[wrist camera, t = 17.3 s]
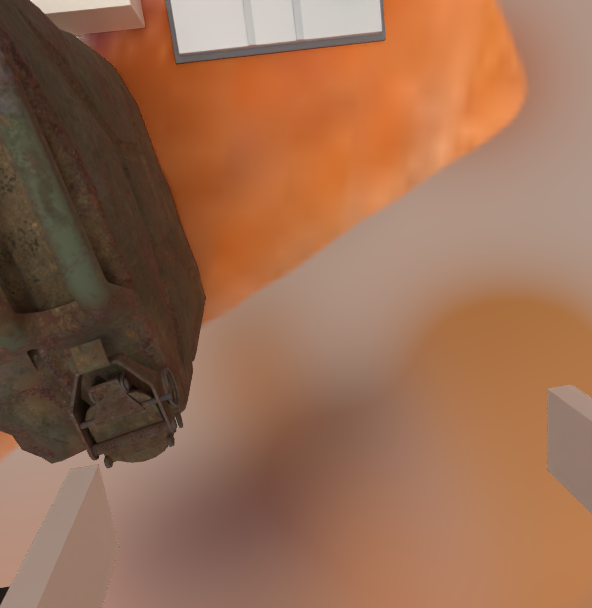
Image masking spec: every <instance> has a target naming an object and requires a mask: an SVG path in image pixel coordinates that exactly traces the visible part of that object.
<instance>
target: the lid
mask: <svg viewBox="0 0 592 608" xmlns="http://www.w3.org/2000/svg"><path fill="white" fill-rule="evenodd" d="M170 1H171V7H172V13H173V19H174V25H175V31H176V37H177V43H178V49H179V54H180V56H183V55H192V54H201V53H210V52H219V51H228V50H237V49H246V48H255V47H264V46H273V45H282V44H291V43H300V42H309V41H318V40H326V39H335V38H344V37H353V36H362V35H371V34H379V33H380V32H382V23H381V9H380V0H170Z"/></svg>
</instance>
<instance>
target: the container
mask: <svg viewBox="0 0 592 608" xmlns="http://www.w3.org/2000/svg"><path fill="white" fill-rule="evenodd" d="M205 299H206V297H205V294H204V291H203V287H202V284H201V280H200V276H199V271H198V267H197V264H196V262H195V259H194V256H193V254H192V251H191V249H190V246H189V244H188V241H187V239H186V236H185V234H184V231H183V229H182V226H181V223H180V220H179V217H178V213H177V210H176V207H175V204H174V201H173V197H172V194H171V191H170V188H169V185H168V183H167V181H166V179H165V177H164V175H163V173H162V171H161V168H160V166H159V164H158V161H157V158H156V155H155V152H154V150H153V147H152V144H151V141H150V138H149V136H148V133H147V130H146V127H145V125H144V122H143V119H142V116H141V114H140V111H139V108H138V105H137V103H136V102H135V100H134V98H133V97H132V95H131V93H130V92H129V90H128V88H127V86H126V85H125V83H124V81H123V80H122V78H121V77H120V75H119V74H118V72H117V71H116V69H115V68H114V67H113V65H112V64H111V63H109V62H108V61H107V60H105V59H104V58H103V57H101V56H100V55H99V54H97V53H96V52H95V51H94V50H92V49H91V48H90V47H88V46H87V45H86V44H84V43H83V42H82V41H80V40H79V39H78V38H76V37H75V36H74V35H73V34H71V33H69V32H66V31H63V30H61V29H59V28H58V27H57V26H56V25H55V24H54V23H53V22H52V21H51V20H50V19H49V18H48V17H47V16H46V15H45V14H44V13H43V12H42V11H41V9H40V8H39V7H37V6H36V5H35V4H34V3H32V2H31V1H30V0H0V431H2V432H5V433H8V434H10V435H12V436H13V437H14V438H15V440H16V441H17V443H18V444H19V446H20V447H21V449H22V450H24V451H27V452H29V453H32V454H34V455H37V456H39V457H42V458H44V459H45V460H47V461H48V462H50V463H55V462H59V461H63V460H65V459H67V458H69V457H72V456H74V455H76V454H78V453H80V452H82V451H84V450H86V449H87V452H88V454H89V456H90V457H91V459H92V460H97V459H98V458H99V455H101V454H104V455H105V459H104V463H105V466H106V467H107V468H110V467H112V465H113V462H116V461H124V462H142V461H146V460H149V459H152V458H154V457H156V456H158V455H159V454H161V453H162V452H163V451H165V449H166V448H167V447H168V445H169V446H170V447H171V446H174V437H173V435H174V433H175V432H176V428H177V424H176V420H177V422H178V425H179V427H180V428H182V427H183V423H182V418H181V415H180V413H181V412H182V411H184V410H185V408H186V404H187V401H188V396H189V390H190V384H191V379H192V373H193V366H192V362H193V361H194V359H195V355H196V351H197V345H198V339H199V334H200V328H201V322H202V317H203V311H204V305H205ZM175 417H176V420H175Z"/></svg>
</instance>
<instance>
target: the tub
mask: <svg viewBox="0 0 592 608" xmlns="http://www.w3.org/2000/svg"><path fill="white" fill-rule="evenodd" d="M30 1H31V2H32V3H34V4H35V5H36V6H37V7H39V8H40V9H41V11H42V12H43V13H44V14H45V15H46V16H47V17H48V18H49V19H50V20H51V21H52V22H53V23H54V24H55V25H56V26H57V27H58V28H59V29H61V30H63V31H66V32H69V33H71V34H73V35H82V34H92V33H101V32H110V31H120V30H129V29H138V28H146V27H145V22H144V16H143V11H142V5H141V0H30Z"/></svg>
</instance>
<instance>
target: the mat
mask: <svg viewBox="0 0 592 608" xmlns="http://www.w3.org/2000/svg"><path fill="white" fill-rule="evenodd" d="M165 1H166V7H167V13H168V19H169V25H170V31H171V37H172V43H173V48H174V54H175V60H176V64H181V63H190V62H199V61H208V60H216V59H225V58H234V57H243V56H252V55H261V54H270V53H278V52H287V51H296V50H305V49H314V48H323V47H332V46H340V45H349V44H358V43H367V42H376V41H384V40H386V39H385V25H384V11H383V0H380V9H381V23H382V32H380V33H379V34H371V35H362V36H353V37H344V38H335V39H326V40H318V41H309V42H300V43H291V44H282V45H273V46H264V47H255V48H246V49H237V50H228V51H219V52H210V53H201V54H192V55H183V56H180V54H179V49H178V43H177V37H176V31H175V25H174V19H173V13H172V7H171V1H170V0H165Z"/></svg>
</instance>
